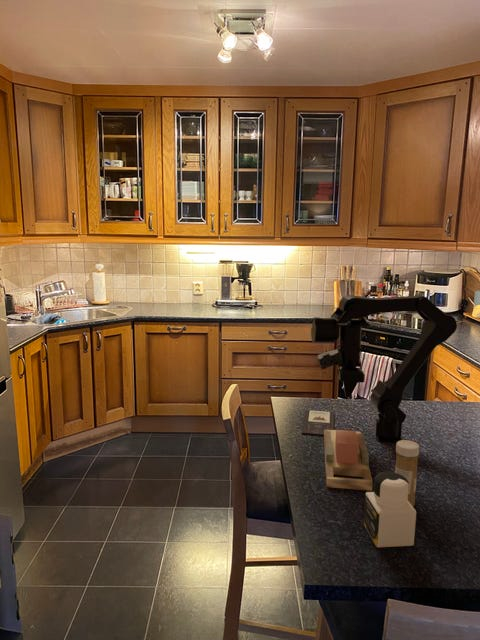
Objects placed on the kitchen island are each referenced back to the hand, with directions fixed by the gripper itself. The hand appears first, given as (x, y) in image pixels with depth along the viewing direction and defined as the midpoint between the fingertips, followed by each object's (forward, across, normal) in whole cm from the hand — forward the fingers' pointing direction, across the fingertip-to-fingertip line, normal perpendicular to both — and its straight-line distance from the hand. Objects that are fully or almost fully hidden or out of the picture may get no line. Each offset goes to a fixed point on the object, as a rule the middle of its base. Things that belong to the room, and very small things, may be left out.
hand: (347, 397), depth 132 cm
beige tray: (+12, +14, -1) cm, 18 cm away
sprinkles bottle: (+12, +32, +9) cm, 35 cm away
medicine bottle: (+12, +44, +4) cm, 46 cm away
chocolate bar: (+13, -10, -7) cm, 17 cm away
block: (+10, +15, -1) cm, 18 cm away
